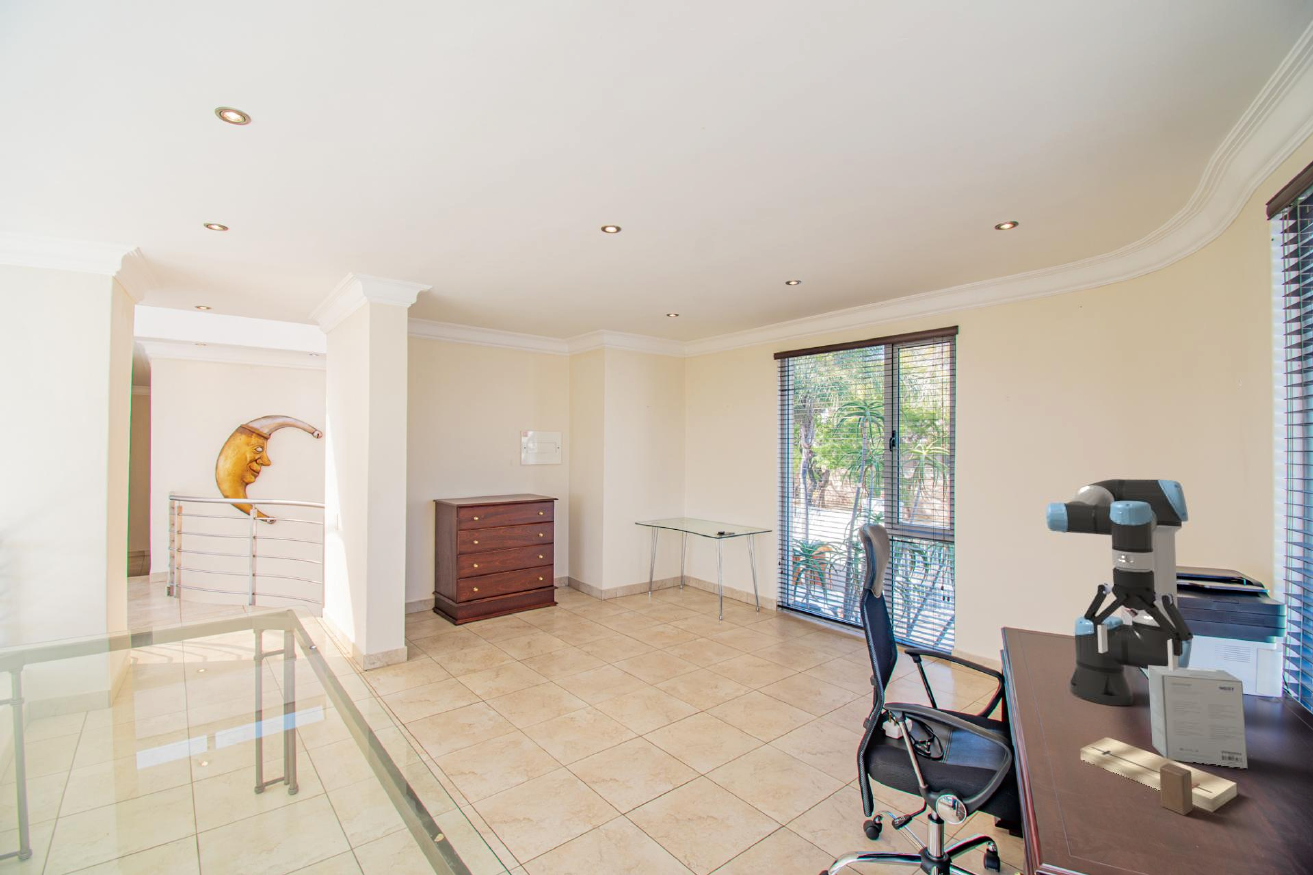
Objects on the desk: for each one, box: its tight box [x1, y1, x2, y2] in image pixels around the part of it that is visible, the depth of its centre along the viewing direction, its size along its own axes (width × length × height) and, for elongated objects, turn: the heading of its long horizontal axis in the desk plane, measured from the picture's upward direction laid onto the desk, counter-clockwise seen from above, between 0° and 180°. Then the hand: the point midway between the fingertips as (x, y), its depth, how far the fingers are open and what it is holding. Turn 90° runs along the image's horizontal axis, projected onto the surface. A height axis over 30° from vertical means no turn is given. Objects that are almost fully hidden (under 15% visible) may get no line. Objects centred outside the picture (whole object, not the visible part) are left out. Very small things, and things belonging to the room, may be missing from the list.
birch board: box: [1079, 736, 1238, 813], centre depth 133 cm, size 24×12×3 cm, turn 28°
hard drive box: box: [1147, 665, 1248, 769], centre depth 142 cm, size 16×8×20 cm, turn 71°
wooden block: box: [1160, 763, 1194, 816], centre depth 121 cm, size 4×4×8 cm
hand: (1136, 660), depth 138 cm, fingers open, 13 cm apart
